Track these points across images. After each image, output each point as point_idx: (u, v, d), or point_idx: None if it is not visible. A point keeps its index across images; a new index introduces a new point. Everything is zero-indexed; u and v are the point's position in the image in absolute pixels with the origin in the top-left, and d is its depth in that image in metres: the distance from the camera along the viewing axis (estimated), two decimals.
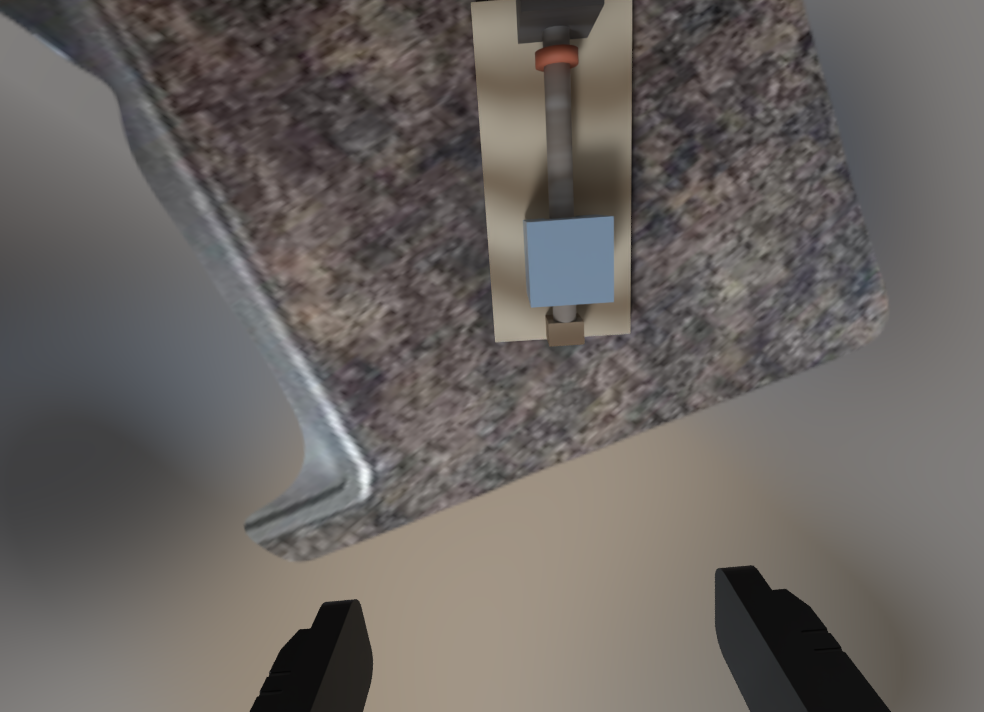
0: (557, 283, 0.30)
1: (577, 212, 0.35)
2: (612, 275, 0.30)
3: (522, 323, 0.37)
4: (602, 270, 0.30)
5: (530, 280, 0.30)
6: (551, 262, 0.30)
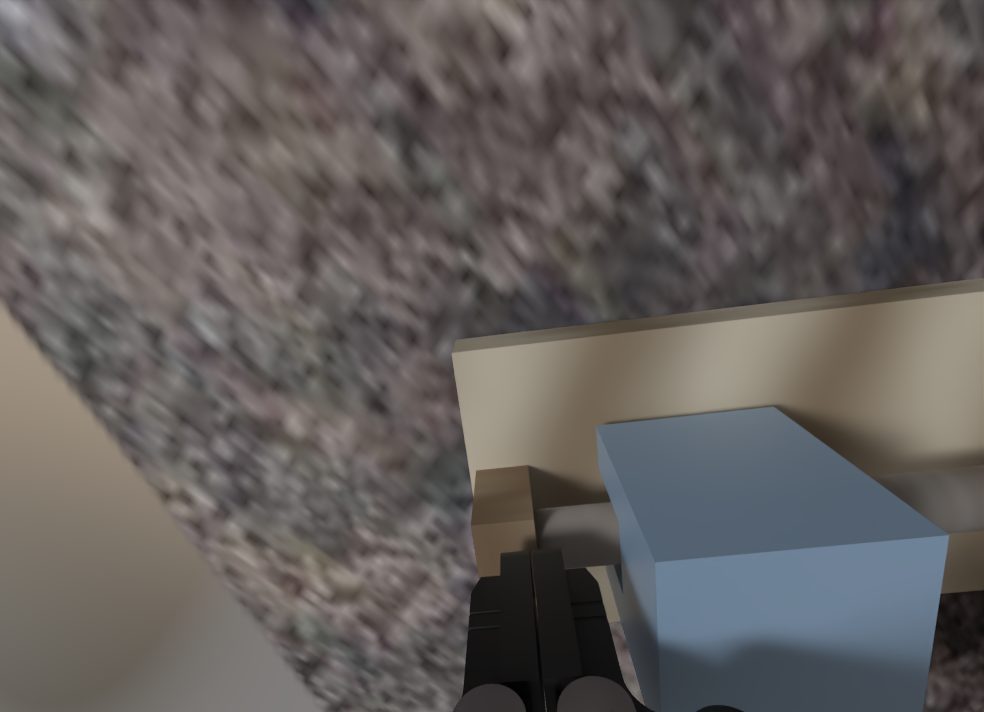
0: (733, 631, 0.09)
1: None
2: None
3: (504, 415, 0.15)
4: None
5: (748, 555, 0.09)
6: (802, 610, 0.09)
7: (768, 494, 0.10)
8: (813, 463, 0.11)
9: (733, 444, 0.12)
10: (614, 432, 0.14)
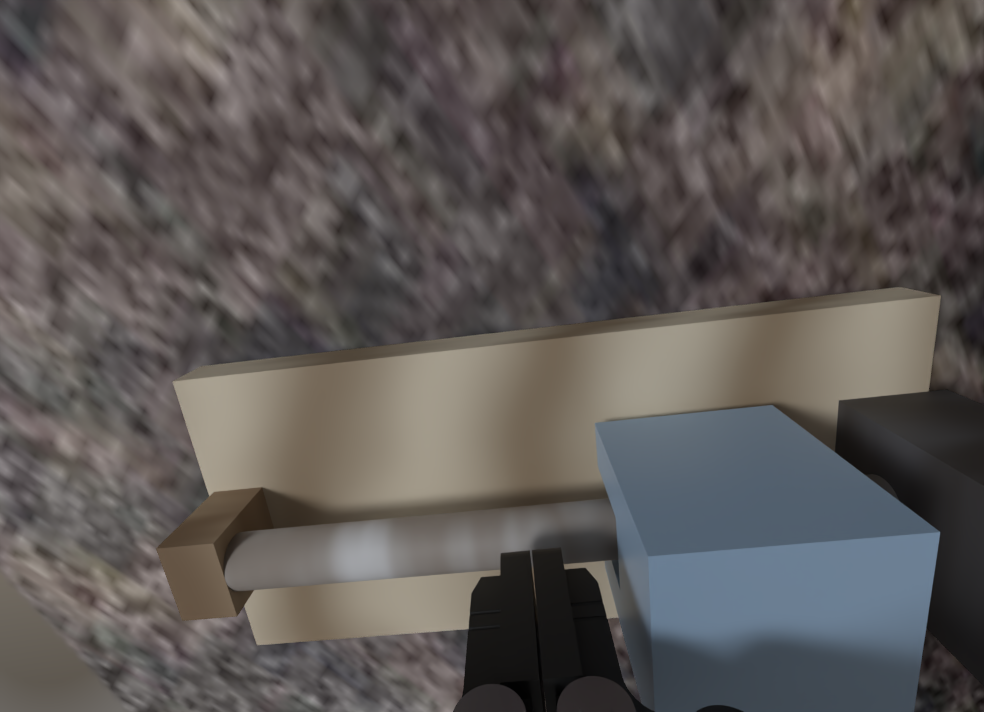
0: (725, 625, 0.09)
1: None
2: None
3: (231, 440, 0.16)
4: None
5: (740, 550, 0.09)
6: (794, 605, 0.09)
7: (762, 491, 0.10)
8: (808, 461, 0.11)
9: (730, 441, 0.13)
10: (612, 429, 0.14)
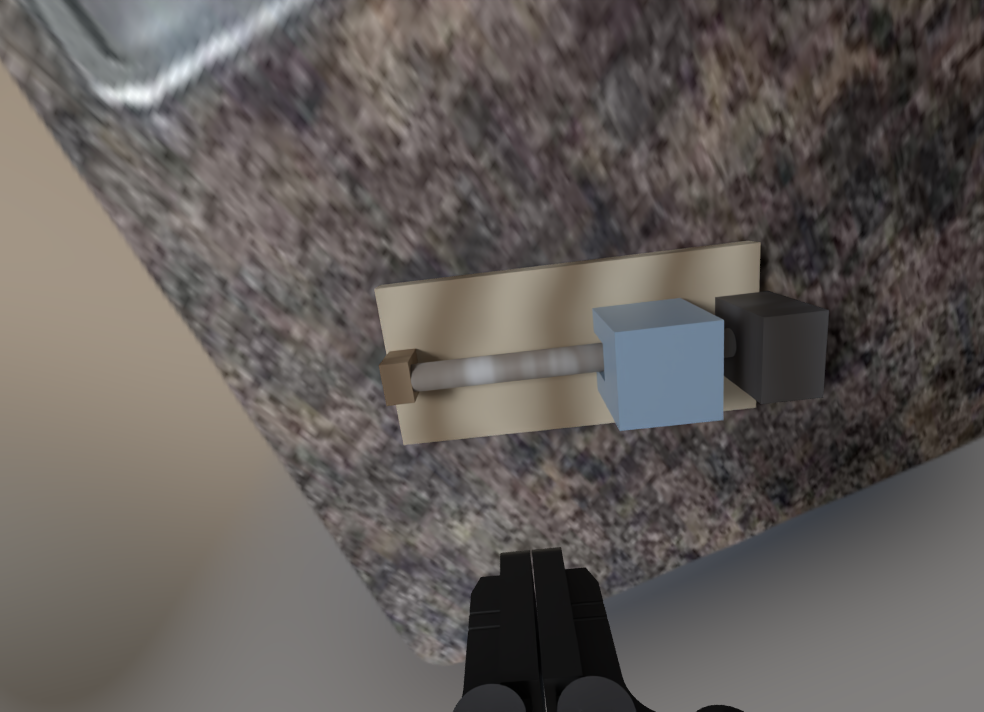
0: (645, 363, 0.24)
1: None
2: (652, 425, 0.25)
3: (402, 321, 0.30)
4: (659, 414, 0.25)
5: (650, 329, 0.23)
6: (672, 353, 0.24)
7: (664, 317, 0.25)
8: (687, 310, 0.26)
9: (655, 308, 0.27)
10: (601, 309, 0.28)
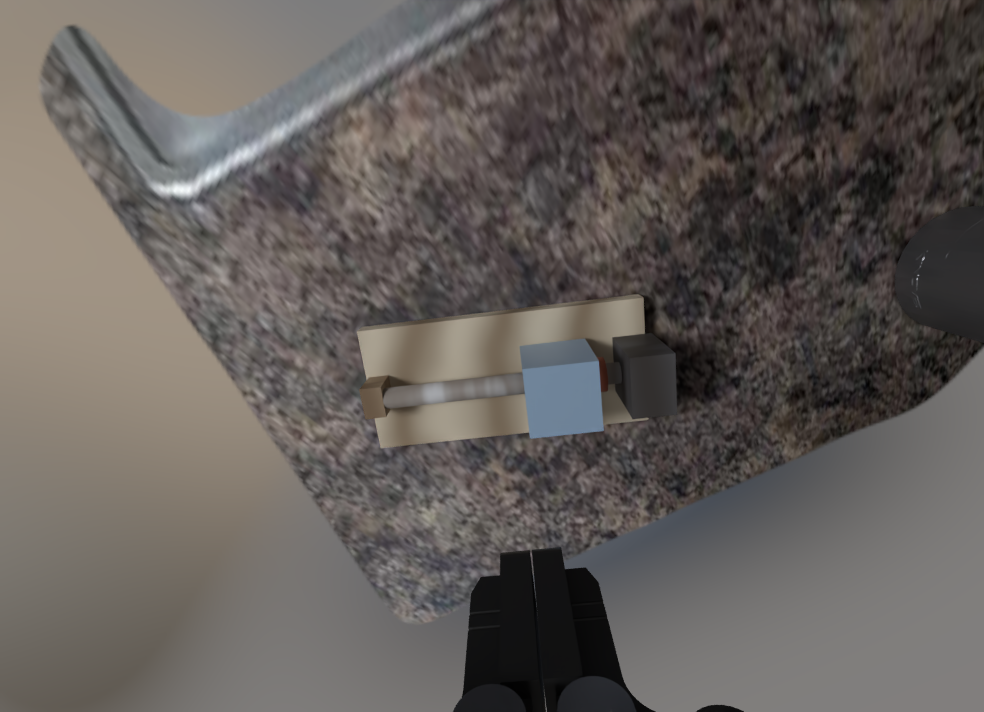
0: (545, 390, 0.34)
1: None
2: (553, 434, 0.34)
3: (378, 355, 0.40)
4: (557, 426, 0.34)
5: (547, 367, 0.33)
6: (563, 384, 0.33)
7: (562, 357, 0.35)
8: (581, 350, 0.35)
9: (562, 348, 0.37)
10: (525, 347, 0.38)
